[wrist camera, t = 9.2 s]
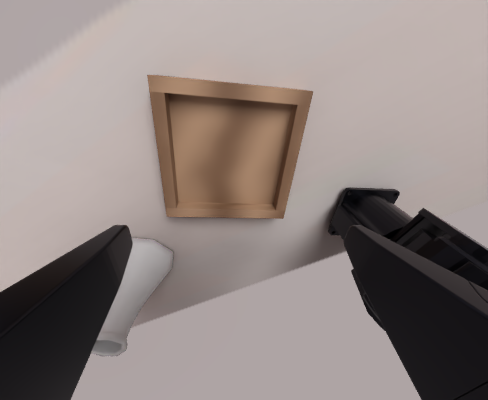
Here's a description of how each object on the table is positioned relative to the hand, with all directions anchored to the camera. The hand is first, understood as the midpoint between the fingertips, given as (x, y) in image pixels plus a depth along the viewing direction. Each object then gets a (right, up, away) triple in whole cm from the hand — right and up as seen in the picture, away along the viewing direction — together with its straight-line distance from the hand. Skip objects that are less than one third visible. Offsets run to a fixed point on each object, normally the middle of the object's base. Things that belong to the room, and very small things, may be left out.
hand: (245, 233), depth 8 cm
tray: (-2, +6, +11) cm, 13 cm away
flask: (-13, -6, +17) cm, 22 cm away
